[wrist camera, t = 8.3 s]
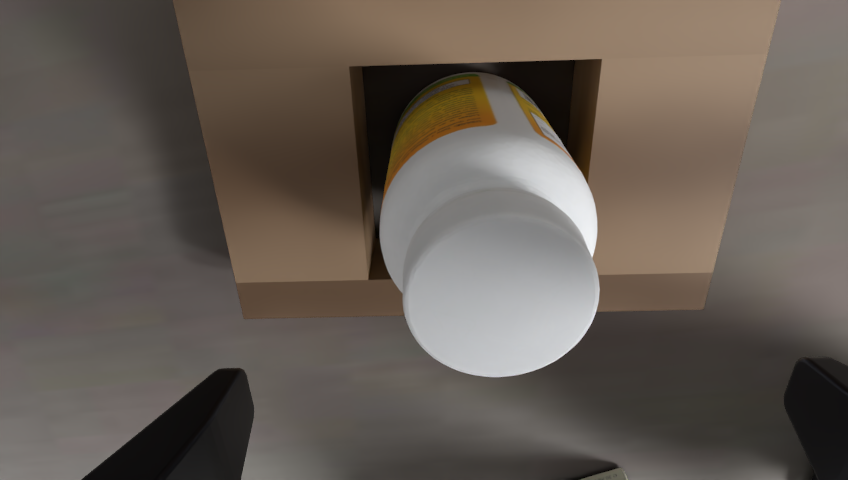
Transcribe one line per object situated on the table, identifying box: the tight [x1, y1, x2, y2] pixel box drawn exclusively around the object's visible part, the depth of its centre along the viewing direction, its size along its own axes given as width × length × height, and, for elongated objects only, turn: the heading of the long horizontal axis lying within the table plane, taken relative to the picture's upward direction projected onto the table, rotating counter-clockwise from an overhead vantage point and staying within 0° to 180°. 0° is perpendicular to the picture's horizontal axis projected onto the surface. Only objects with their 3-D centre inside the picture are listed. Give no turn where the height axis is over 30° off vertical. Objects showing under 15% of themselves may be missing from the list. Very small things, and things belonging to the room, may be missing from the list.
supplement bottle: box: [380, 72, 600, 377], centre depth 15 cm, size 5×5×10 cm
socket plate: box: [173, 0, 781, 319], centre depth 13 cm, size 17×18×12 cm
